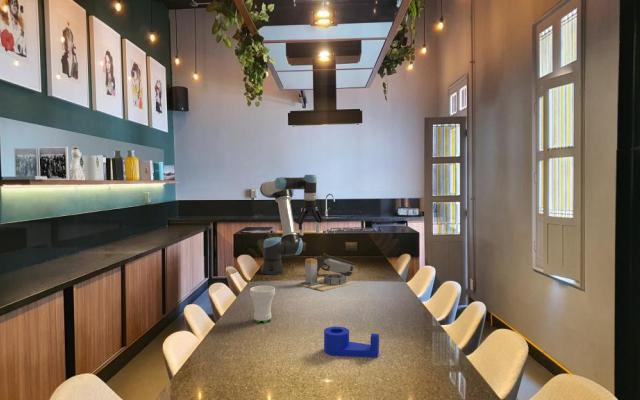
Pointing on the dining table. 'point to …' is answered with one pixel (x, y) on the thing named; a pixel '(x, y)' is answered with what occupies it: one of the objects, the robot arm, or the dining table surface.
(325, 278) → the grey octagonal ring
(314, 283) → the pad
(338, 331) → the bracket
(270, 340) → the dining table surface
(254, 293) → the cup
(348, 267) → the gun
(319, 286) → the board
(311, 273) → the block
